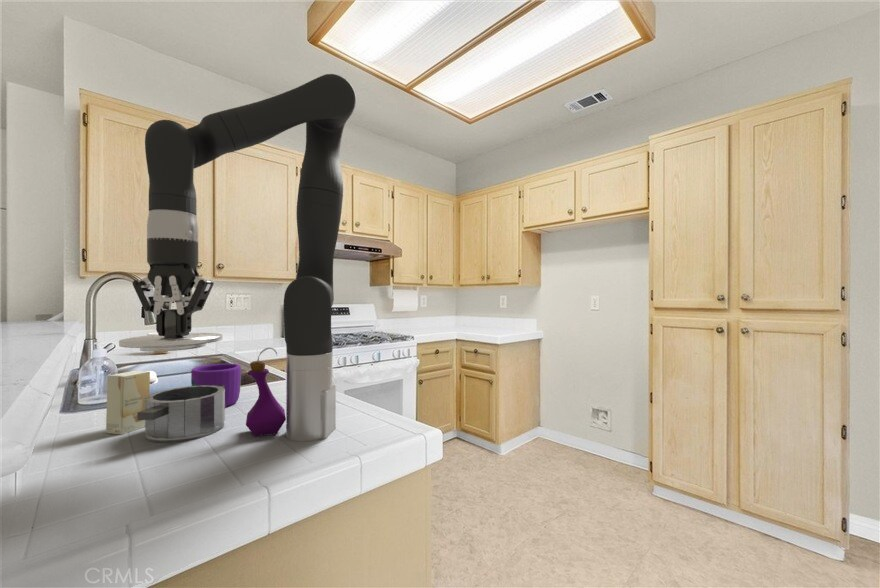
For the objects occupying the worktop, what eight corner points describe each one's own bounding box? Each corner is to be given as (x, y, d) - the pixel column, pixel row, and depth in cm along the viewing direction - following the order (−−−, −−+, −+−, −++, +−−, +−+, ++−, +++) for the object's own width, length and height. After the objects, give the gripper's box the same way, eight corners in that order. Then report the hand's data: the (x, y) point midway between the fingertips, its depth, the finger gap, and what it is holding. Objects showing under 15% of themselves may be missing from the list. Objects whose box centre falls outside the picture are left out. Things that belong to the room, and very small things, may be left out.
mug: (246, 404, 101) (246, 367, 101) (196, 414, 93) (197, 373, 93) (227, 392, 113) (227, 359, 113) (182, 399, 105) (182, 363, 105)
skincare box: (121, 435, 78) (121, 376, 78) (104, 434, 79) (105, 375, 79) (151, 425, 85) (151, 370, 85) (135, 423, 86) (135, 369, 86)
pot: (246, 414, 92) (246, 381, 92) (181, 451, 70) (181, 408, 70) (190, 413, 93) (190, 381, 93) (109, 450, 71) (109, 407, 71)
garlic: (158, 383, 125) (158, 372, 125) (132, 386, 121) (132, 374, 121) (157, 379, 131) (157, 368, 131) (132, 382, 127) (132, 370, 127)
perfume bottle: (245, 440, 76) (245, 350, 76) (247, 428, 82) (247, 346, 82) (286, 435, 79) (286, 348, 79) (284, 423, 86) (284, 344, 86)
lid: (237, 341, 75) (237, 307, 75) (190, 353, 60) (190, 311, 60) (160, 342, 75) (160, 307, 75) (93, 354, 60) (93, 311, 60)
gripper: (224, 241, 71) (224, 333, 71) (152, 242, 72) (152, 333, 72) (197, 235, 64) (198, 338, 64) (116, 236, 64) (117, 338, 64)
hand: (173, 335), depth 68 cm, fingers closed on lid, 2 cm apart
